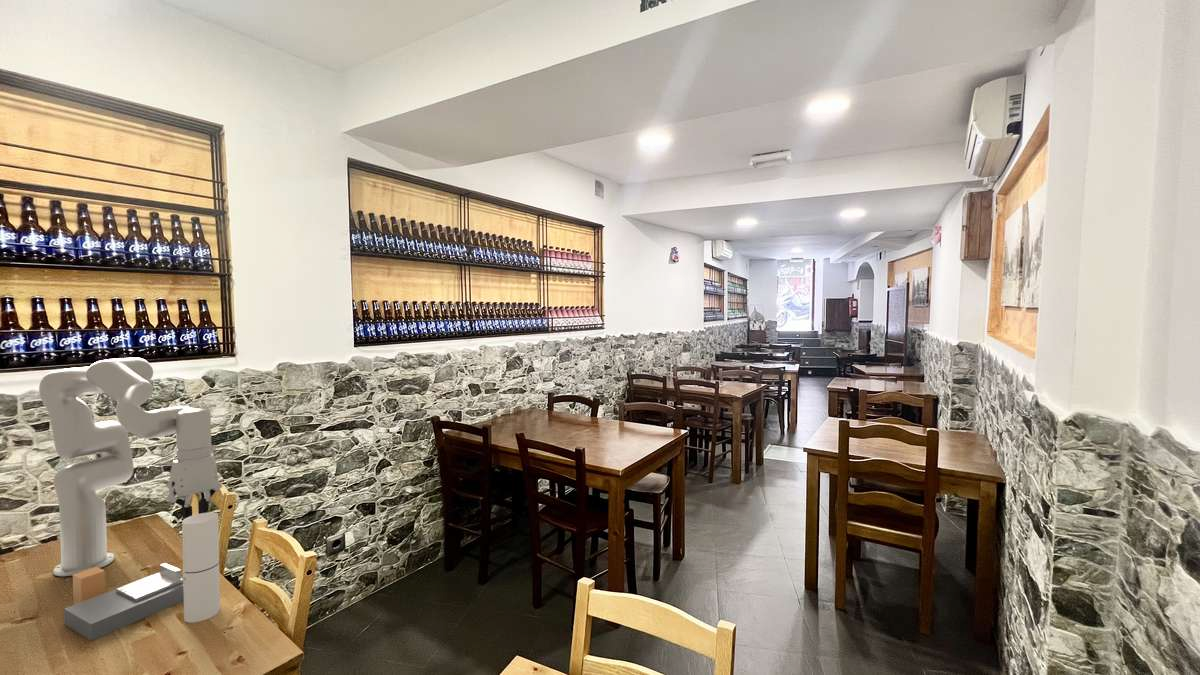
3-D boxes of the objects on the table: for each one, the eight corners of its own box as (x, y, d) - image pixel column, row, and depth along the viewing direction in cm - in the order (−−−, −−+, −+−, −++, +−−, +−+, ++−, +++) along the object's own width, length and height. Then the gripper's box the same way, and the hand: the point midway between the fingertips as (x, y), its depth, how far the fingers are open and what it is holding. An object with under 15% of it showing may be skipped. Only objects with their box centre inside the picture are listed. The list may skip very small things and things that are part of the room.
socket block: (64, 624, 120) (63, 608, 120) (164, 584, 138) (163, 570, 138) (91, 640, 114) (91, 624, 114) (191, 596, 132) (191, 582, 132)
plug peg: (73, 604, 128) (72, 574, 128) (97, 595, 132) (96, 566, 132) (81, 609, 126) (80, 578, 126) (105, 600, 130) (104, 570, 130)
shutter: (116, 591, 127) (115, 579, 127) (163, 573, 136) (163, 562, 136) (135, 601, 123) (135, 588, 123) (183, 582, 132) (182, 570, 132)
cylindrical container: (199, 624, 121) (197, 525, 120) (176, 620, 122) (174, 522, 121) (227, 607, 128) (225, 513, 127) (204, 604, 129) (203, 511, 128)
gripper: (219, 444, 147) (220, 504, 148) (151, 458, 132) (152, 525, 133) (234, 447, 144) (234, 509, 144) (166, 462, 129) (167, 531, 130)
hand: (195, 516), depth 139 cm, fingers open, 3 cm apart
